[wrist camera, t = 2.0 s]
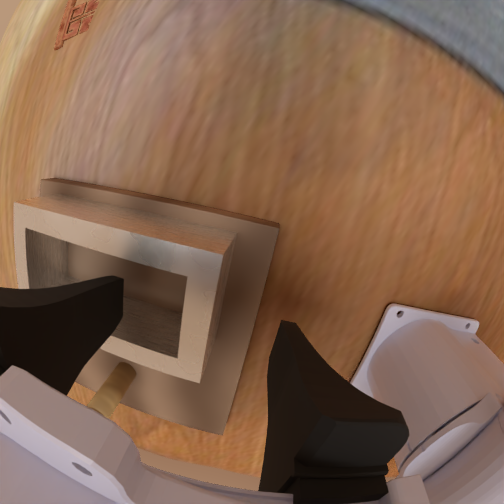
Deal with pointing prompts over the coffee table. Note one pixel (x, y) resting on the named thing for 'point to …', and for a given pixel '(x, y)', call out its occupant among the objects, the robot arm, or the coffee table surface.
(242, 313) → the board
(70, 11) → the key
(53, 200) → the cream hollow block
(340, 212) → the coffee table surface
